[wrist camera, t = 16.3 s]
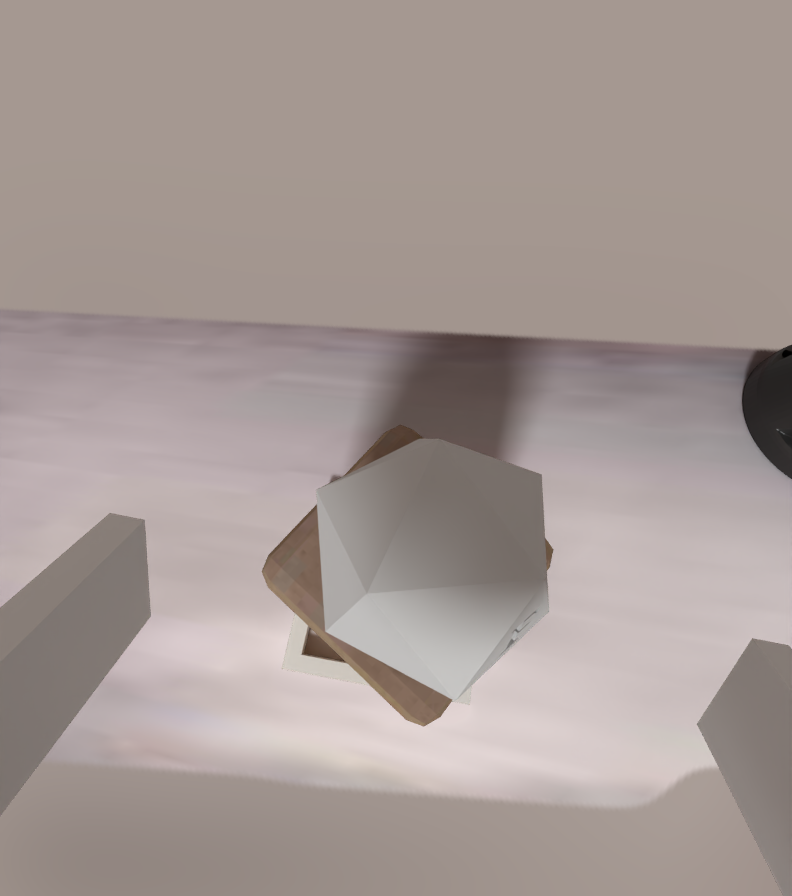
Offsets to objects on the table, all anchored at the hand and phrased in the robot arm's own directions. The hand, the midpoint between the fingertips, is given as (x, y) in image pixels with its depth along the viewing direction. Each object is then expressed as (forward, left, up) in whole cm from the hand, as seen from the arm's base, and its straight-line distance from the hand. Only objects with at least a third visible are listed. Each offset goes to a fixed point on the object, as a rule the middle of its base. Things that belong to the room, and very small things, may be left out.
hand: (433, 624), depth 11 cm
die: (0, -3, -10) cm, 11 cm away
